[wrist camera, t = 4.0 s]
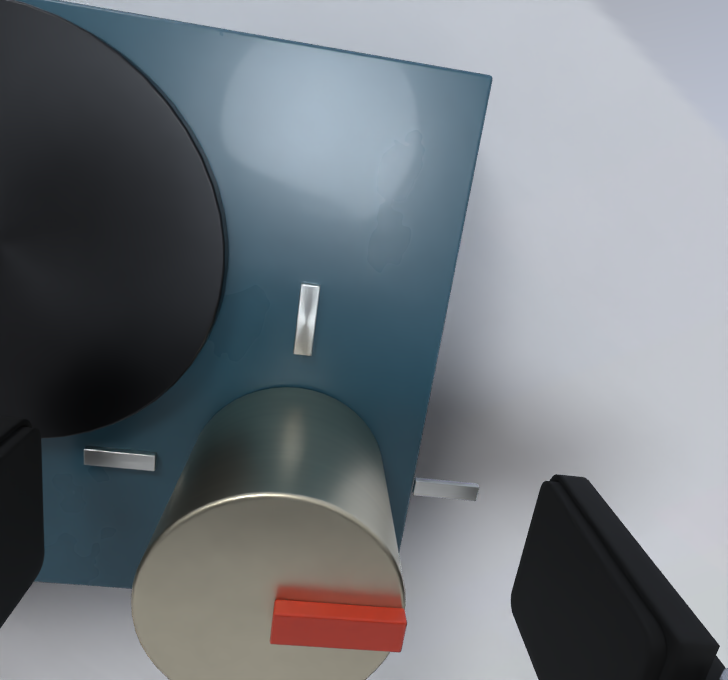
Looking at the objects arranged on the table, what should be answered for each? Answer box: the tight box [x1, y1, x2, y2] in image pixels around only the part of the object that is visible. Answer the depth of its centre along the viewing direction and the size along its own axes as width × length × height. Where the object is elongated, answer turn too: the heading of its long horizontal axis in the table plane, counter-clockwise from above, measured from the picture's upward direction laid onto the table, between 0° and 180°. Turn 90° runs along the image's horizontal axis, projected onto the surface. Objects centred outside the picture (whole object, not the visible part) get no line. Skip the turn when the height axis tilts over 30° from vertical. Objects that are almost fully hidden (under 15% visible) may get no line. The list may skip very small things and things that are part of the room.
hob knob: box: [131, 387, 407, 680], centre depth 10 cm, size 4×4×4 cm
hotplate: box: [0, 0, 228, 439], centre depth 10 cm, size 8×8×1 cm
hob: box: [16, 0, 492, 589], centre depth 12 cm, size 13×12×3 cm
